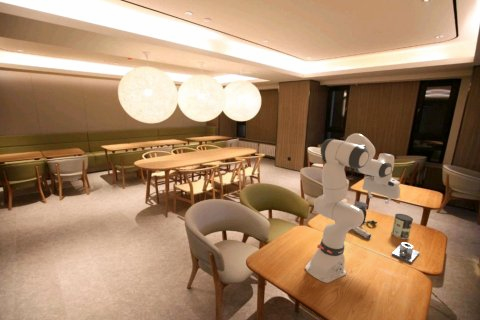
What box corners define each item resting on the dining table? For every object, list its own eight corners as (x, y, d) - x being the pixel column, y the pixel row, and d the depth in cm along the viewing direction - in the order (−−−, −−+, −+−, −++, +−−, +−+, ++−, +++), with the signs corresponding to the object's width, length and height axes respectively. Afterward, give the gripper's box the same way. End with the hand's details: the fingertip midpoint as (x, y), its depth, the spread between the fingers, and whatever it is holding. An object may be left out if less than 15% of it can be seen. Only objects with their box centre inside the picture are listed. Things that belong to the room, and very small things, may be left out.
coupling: (409, 256, 138) (411, 249, 137) (398, 251, 142) (400, 244, 141) (412, 253, 142) (414, 245, 140) (401, 248, 146) (403, 241, 145)
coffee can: (409, 234, 165) (413, 216, 162) (408, 241, 157) (412, 222, 154) (392, 229, 171) (395, 212, 168) (390, 235, 163) (394, 217, 160)
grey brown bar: (368, 235, 155) (336, 215, 175) (365, 243, 158) (334, 222, 177) (372, 233, 158) (341, 213, 177) (369, 241, 160) (338, 221, 180)
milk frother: (348, 218, 185) (351, 201, 182) (366, 217, 188) (369, 200, 184) (360, 228, 172) (363, 209, 168) (379, 226, 174) (383, 208, 171)
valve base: (410, 264, 134) (412, 256, 133) (391, 255, 142) (393, 247, 140) (418, 254, 143) (420, 247, 142) (400, 246, 151) (401, 239, 149)
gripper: (362, 175, 147) (358, 196, 150) (399, 185, 131) (394, 207, 134) (366, 174, 150) (363, 194, 154) (403, 183, 135) (398, 205, 138)
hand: (378, 200), depth 144 cm, fingers open, 8 cm apart
